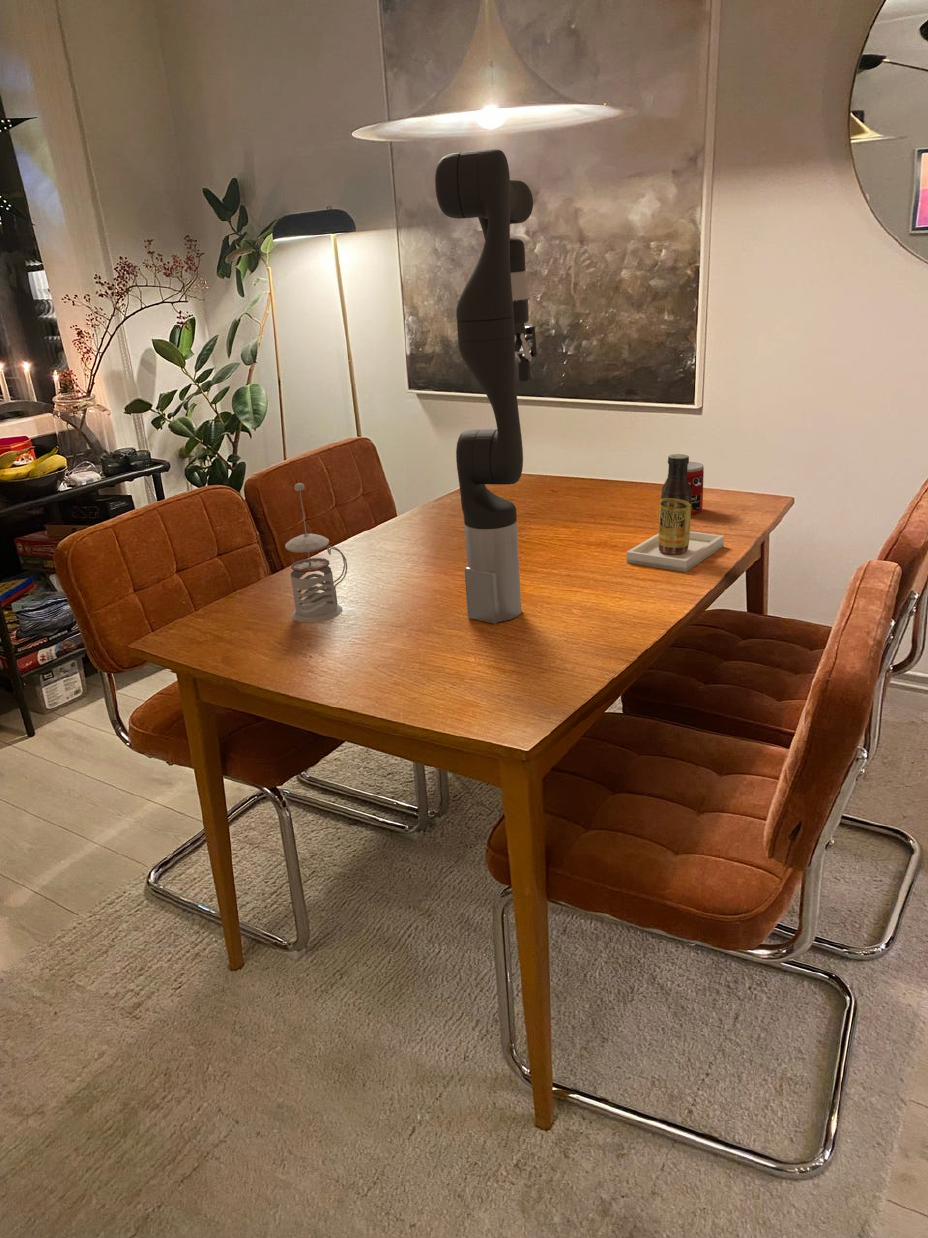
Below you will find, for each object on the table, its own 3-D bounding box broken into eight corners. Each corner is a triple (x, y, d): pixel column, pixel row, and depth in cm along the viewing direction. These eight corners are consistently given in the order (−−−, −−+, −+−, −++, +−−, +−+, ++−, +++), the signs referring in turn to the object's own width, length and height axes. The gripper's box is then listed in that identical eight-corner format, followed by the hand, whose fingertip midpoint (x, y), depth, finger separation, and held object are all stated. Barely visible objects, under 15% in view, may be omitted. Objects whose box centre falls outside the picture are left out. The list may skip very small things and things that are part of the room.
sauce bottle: (654, 554, 191) (655, 458, 183) (663, 545, 196) (664, 451, 188) (685, 557, 187) (687, 459, 180) (694, 548, 193) (696, 452, 185)
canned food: (667, 515, 218) (668, 469, 214) (670, 506, 225) (671, 461, 221) (701, 516, 216) (702, 469, 212) (703, 506, 223) (704, 461, 219)
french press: (286, 609, 178) (266, 481, 169) (345, 597, 182) (329, 472, 172) (296, 626, 170) (276, 493, 160) (357, 614, 173) (341, 482, 164)
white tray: (685, 572, 182) (686, 561, 181) (626, 562, 189) (626, 551, 189) (723, 546, 195) (724, 535, 194) (666, 538, 202) (666, 528, 201)
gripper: (502, 300, 170) (506, 390, 176) (545, 294, 180) (548, 379, 186) (470, 301, 175) (475, 389, 181) (513, 295, 185) (517, 378, 191)
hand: (512, 384), depth 183 cm, fingers open, 8 cm apart
